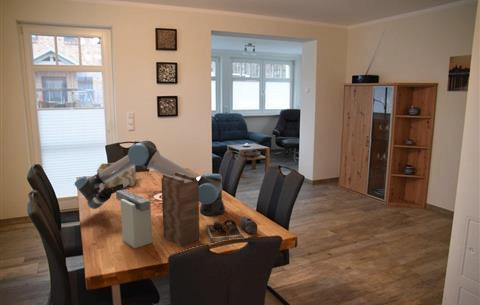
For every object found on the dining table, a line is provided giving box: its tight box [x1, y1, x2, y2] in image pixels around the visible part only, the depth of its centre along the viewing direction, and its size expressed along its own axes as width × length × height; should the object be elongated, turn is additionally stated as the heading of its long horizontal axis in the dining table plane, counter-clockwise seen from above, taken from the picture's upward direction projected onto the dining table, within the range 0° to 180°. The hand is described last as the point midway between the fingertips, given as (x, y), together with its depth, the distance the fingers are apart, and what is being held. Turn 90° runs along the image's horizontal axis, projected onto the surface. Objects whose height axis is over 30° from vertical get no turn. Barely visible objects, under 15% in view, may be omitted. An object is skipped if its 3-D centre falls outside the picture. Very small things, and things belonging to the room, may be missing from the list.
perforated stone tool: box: [239, 216, 258, 234], centre depth 181 cm, size 15×5×7 cm, turn 23°
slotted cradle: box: [119, 195, 153, 249], centre depth 166 cm, size 12×9×20 cm
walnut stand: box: [160, 172, 201, 248], centre depth 168 cm, size 16×10×32 cm, turn 43°
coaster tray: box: [205, 222, 244, 244], centre depth 175 cm, size 16×17×3 cm
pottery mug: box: [212, 218, 238, 236], centre depth 177 cm, size 12×10×8 cm
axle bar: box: [115, 189, 151, 211], centre depth 167 cm, size 26×4×4 cm, turn 43°
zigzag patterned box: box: [96, 162, 137, 188], centre depth 277 cm, size 26×23×14 cm
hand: (115, 183), depth 179 cm, fingers open, 13 cm apart
